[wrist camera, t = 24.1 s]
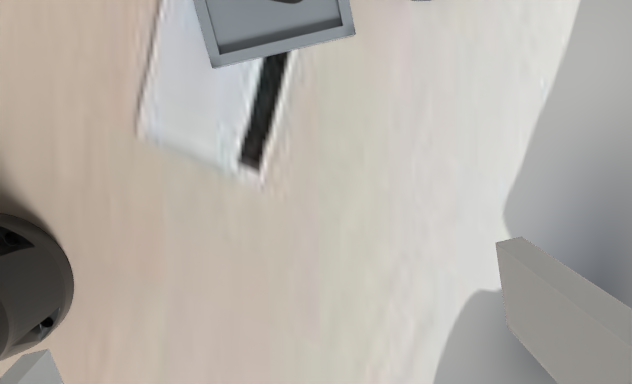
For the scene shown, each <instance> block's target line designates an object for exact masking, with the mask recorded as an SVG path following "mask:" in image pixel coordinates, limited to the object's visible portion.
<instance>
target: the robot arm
mask: <svg viewBox="0 0 632 384" xmlns="http://www.w3.org/2000/svg"><path fill="white" fill-rule="evenodd" d="M496 250H497V258H498V265H499V272H500V279H501V286H502V293H503V300H504V307H505V314H506V321H507V327H508V328H509V329H510V330H511V332H512V333H513V334H514V335H515V336H516V337H517V338H518V340H520V342H521V343H522V344H523V345H524V346H525V347H526V348H527V350H528V351H529V352H530V353H531V354H532V355H533V356H534V357H535V358H536V360H537V361H538V362H539V363H540V364H541V365H542V366H543V367H544V368H545V370H546V371H547V372H548V373H549V374H550V375H551V376H552V377H553V379H554V380H555V381H556V382H557V383H558V384H632V309H631V308H629V307H628V306H626V305H625V304H623V303H622V302H620V301H619V300H617V299H615V298H614V297H613V296H611V295H610V294H608V293H606V292H605V291H603V290H602V289H600V288H599V287H597V286H596V285H594V284H593V283H591V282H590V281H588V280H587V279H585V278H584V277H582V276H581V275H579V274H578V273H576V272H575V271H573V270H572V269H570V268H568V267H567V266H565V265H564V264H562V263H561V262H559V261H558V260H556V259H555V258H553V257H552V256H550V255H549V254H547V253H546V252H544V251H543V250H541V249H540V248H538V247H536V246H535V245H533V244H532V243H530V242H529V241H527V240H526V239H524V238H523V237H518V238H514V239H509V240H505V241H501V242H497V243H496ZM73 292H74V282H73V275H72V271H71V268H70V265H69V263H68V260H67V259H66V257H65V255H64V253H63V252H62V250H61V249H60V247H59V246H58V245H57V244H56V242H55V241H54V240H53V239H52V238H51V237H50V236H48V235H47V234H46V233H45V232H44V231H42V230H41V229H39V228H38V227H36V226H35V225H33V224H31V223H29V222H27V221H25V220H23V219H20V218H17V217H14V216H10V215H6V214H0V361H2V360H4V359H6V358H9V357H11V356H13V355H16V354H18V353H20V352H23V351H25V350H27V349H30V348H31V347H33V346H35V345H37V344H38V343H40V342H41V341H42V340H44V339H45V338H46V337H47V336H48V335H49V334H50V333H51V332H52V331H53V330H54V329H55V328H56V327H57V326H58V325H59V324H60V323H61V322H62V321H63V319H64V318H65V316H66V315H67V313H68V311H69V309H70V306H71V303H72V299H73ZM0 384H64V383H63V381H62V378H61V376H60V374H59V371H58V369H57V367H56V364H55V362H54V359H53V357H52V355H51V352H50V350H49V349H46V350H42V351H38V352H33V353H29V354H25V355H22V356H21V357H20V358H19V359H18V360H17V361H16V363H15V364H14V365H13V366H12V367H11V368H10V369H9V370H8V371H7V372H6V373H5V374H4V375H3V376H2V377H1V378H0Z"/></svg>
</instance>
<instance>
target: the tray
mask: <svg viewBox="0 0 632 384" xmlns="http://www.w3.org/2000/svg"><path fill="white" fill-rule="evenodd" d="M194 4H195V7H196V11H197V15H198V18H199V22H200V25H201V29H202V33H203V36H204V40H205V44H206V47H207V51H208V54H209V58H210V62H211V65H212V68H214V69H216V68H220V67H224V66H229V65H233V64H237V63H241V62H245V61H250V60H254V59H258V58H262V57H267V56H271V55H275V54H279V53H283V52H288V51H292V50H296V49H300V48H305V47H309V46H313V45H317V44H321V43H326V42H330V41H334V40H338V39H343V38H347V37H351V36H354V35H355V34H356V33H355V28H354V23H353V18H352V13H351V8H350V3H349V0H303V1H302V2H300V3H297V4H286V3H280V2H275V1H270V0H194Z"/></svg>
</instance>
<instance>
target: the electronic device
mask: <svg viewBox="0 0 632 384" xmlns="http://www.w3.org/2000/svg"><path fill="white" fill-rule="evenodd" d="M270 1H275V2H280V3H286V4H297V3H300V2H302V1H303V0H270Z"/></svg>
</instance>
